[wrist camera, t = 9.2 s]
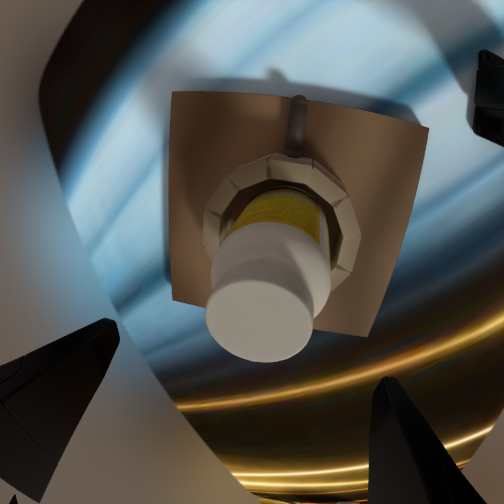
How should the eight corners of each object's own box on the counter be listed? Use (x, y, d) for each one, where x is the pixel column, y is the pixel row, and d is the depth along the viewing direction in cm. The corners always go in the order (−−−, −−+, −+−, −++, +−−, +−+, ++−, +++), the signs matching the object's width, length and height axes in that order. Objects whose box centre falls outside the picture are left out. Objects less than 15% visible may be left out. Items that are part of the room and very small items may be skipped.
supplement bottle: (228, 206, 19) (159, 288, 11) (304, 169, 17) (295, 230, 9) (267, 273, 21) (233, 383, 12) (340, 245, 19) (353, 355, 10)
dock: (423, 124, 15) (446, 127, 12) (365, 327, 23) (370, 359, 19) (180, 89, 17) (153, 86, 14) (178, 292, 25) (159, 318, 22)
